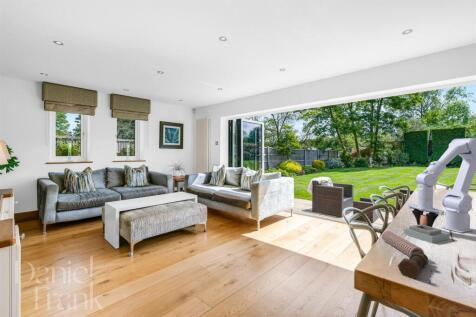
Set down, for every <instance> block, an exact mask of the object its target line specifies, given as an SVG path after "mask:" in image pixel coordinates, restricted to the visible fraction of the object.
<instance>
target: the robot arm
mask: <svg viewBox="0 0 476 317" xmlns="http://www.w3.org/2000/svg"><path fill="white" fill-rule="evenodd" d="M457 156H459V157H461V159H462V162H461V164H460V167H459V171H458V173H457V175H456V178H455V182H454V184H453V188H452V189H451V190H448V191H447V192H446V193H445V195H444V196H443V197H442V199H441V205H442V206H443V208H444V210H441V209H438V208H434V186H435V185H437V183H438V179H439V177H440V176H441V175H442V173H444V172H445V171H446V169H447V166H446V165H448V164H449V163H450V162H451V161H452V160H453V159H454V158H456V157H457ZM475 173H476V137H471V138H469V137H468V138H467V137H466V138H454V139H453V140H451V142H450V143H449V144H448V148H447V149H446V150H445V152H443V154H442V155H441V156H440V158H439V159H438V160H434V161H431V162H430V163H429V165H428V167H426V169H424V170H423V171H422V172H421V173H418V174H417V175H416V177H415V178H414V181H415V183H416V186H417V204H412V203H408V204H407V209H412V210H411V213H412V214H413V216H414V217H415V221H416V225H420V215H421V214H423V215H424V212H425V215H426V216H427V221H428V222H427V226H429V227H433V225H434V223H435V221H436V220H437V218H438V217H439V216H441V217H442V216H445V225H443V226H440V227H441V228H442V229H445V230H449V231H453V232H457V233H461V234H463V233H466V232H471V231H473V229H472V228H471V216H470V214H469V212H470V211H471V210H472V207H473V203H472V202H473V197H472V196H471V195H470V194H469V191H470V188H471V186H472V181H473V180H474V176H475Z"/></svg>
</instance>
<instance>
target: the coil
mask: <svg viewBox="0 0 476 317" xmlns="http://www.w3.org/2000/svg"><path fill="white" fill-rule="evenodd" d="M381 239H382V240H383V241H384V242H386V243H387V244H389V245H391V246H392V247H394V248H395V249H397V250H398V251H400V252H401V253H403V254H405V255H406V256H407V257H408V258H409V257H410V256H411V255H412V254H413V253H414V252H417V253H418V252H421V253H424V254H425V251H424V249H423V247H420V246H418V245H416V244H414V243H412V242H410V241H409V240H407V239H405V238H403V237H401V236H399V235H397V234H396V233H394V232H392V231H390V230H384V231H383V233H382V234H381Z"/></svg>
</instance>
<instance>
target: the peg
mask: <svg viewBox="0 0 476 317" xmlns="http://www.w3.org/2000/svg"><path fill="white" fill-rule="evenodd" d="M427 222H428V221H427V216H426V214H424V213H423V214H421V215H420V224H422V225H426V226H427Z"/></svg>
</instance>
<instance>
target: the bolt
mask: <svg viewBox="0 0 476 317" xmlns="http://www.w3.org/2000/svg"><path fill="white" fill-rule="evenodd" d="M428 258H429V257H428V255H426V254H425V252H424V253H421V252H418V253H417V252H414V253H413V254H412V255H411V256H410V257H409V256H408V258H406V257H404V258H403V259H402V260H401V261H399V263H398V264H397V268H398V270H399V273H400V274H401V275H402V276H404V277H407V278H409V279H412V280H416V279H417V278H418V277H419V275H421V274H422V272H423V271H422V269H424V268H425V267H426V266H427V265H428V264H429V261H428V260H429V259H428Z"/></svg>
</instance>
